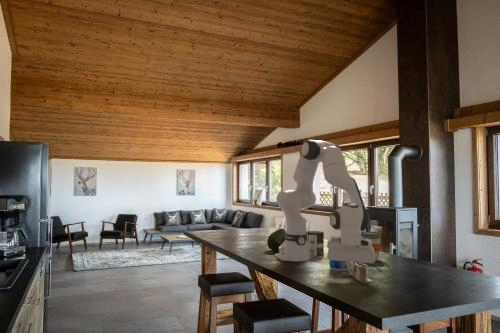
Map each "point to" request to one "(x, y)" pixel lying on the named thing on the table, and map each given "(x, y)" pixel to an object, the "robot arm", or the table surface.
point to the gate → (357, 272)
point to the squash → (276, 239)
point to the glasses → (373, 266)
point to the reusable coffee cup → (373, 241)
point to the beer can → (337, 264)
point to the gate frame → (357, 279)
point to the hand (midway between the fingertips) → (350, 271)
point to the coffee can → (315, 243)
